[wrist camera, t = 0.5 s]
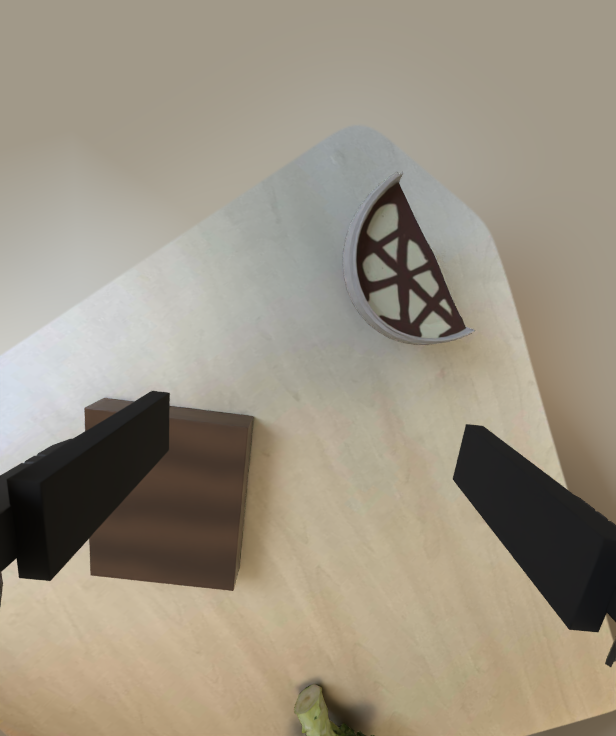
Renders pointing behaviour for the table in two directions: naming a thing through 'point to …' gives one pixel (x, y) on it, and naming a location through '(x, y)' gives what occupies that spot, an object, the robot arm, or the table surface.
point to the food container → (397, 272)
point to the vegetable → (318, 715)
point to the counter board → (180, 504)
